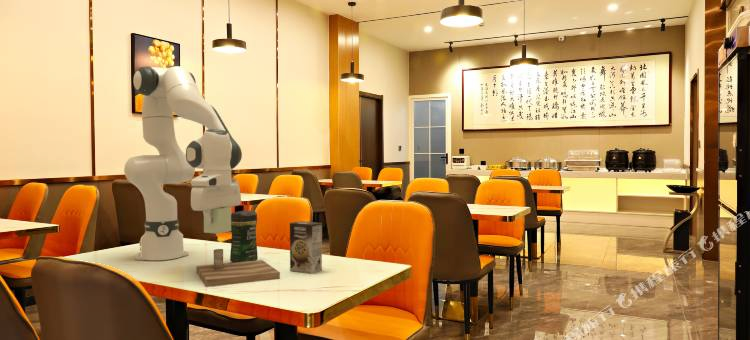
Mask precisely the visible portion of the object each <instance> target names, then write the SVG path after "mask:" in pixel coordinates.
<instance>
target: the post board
mask: <svg viewBox="0 0 750 340" xmlns="http://www.w3.org/2000/svg"><path fill="white" fill-rule="evenodd" d="M195 267H196V268H195V271H196V274H197V275H198V276H199V278H200V280H201V281H202V282H203V284H204V285H205V287H206V288H207V287H215V286H216V285H217V286H224V285H225V286H226V285H234V284H242V283H254V282H259V281H260V282H261V281H270V280H279V279H280V278H281V272H280V271H279V270H278V269H276V268H274V267H273V266H272V265H270V264H268V263H267V262H266V261H265V260H263V259H259V260H258V259H257V260H256V261H245V262H235V263H233V262H227V263H224V249H222V248H216V249H213V264H204V265H203V264H202V265H196V266H195Z"/></svg>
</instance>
